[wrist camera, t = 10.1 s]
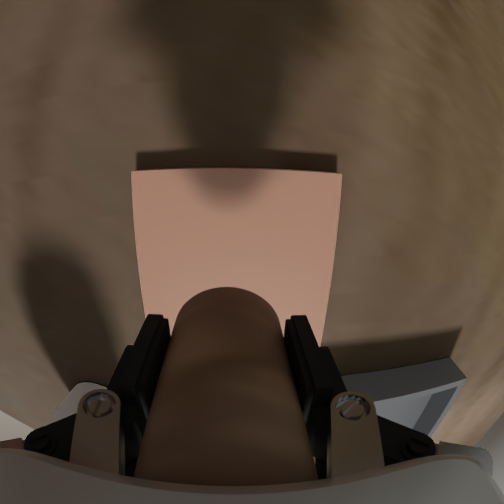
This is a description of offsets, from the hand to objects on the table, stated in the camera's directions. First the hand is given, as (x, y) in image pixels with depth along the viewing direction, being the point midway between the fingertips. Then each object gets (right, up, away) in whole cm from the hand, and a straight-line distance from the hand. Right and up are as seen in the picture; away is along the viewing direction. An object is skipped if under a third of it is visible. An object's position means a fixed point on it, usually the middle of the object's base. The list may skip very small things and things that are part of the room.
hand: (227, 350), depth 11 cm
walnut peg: (0, 0, +1) cm, 1 cm away
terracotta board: (0, +3, +8) cm, 8 cm away
